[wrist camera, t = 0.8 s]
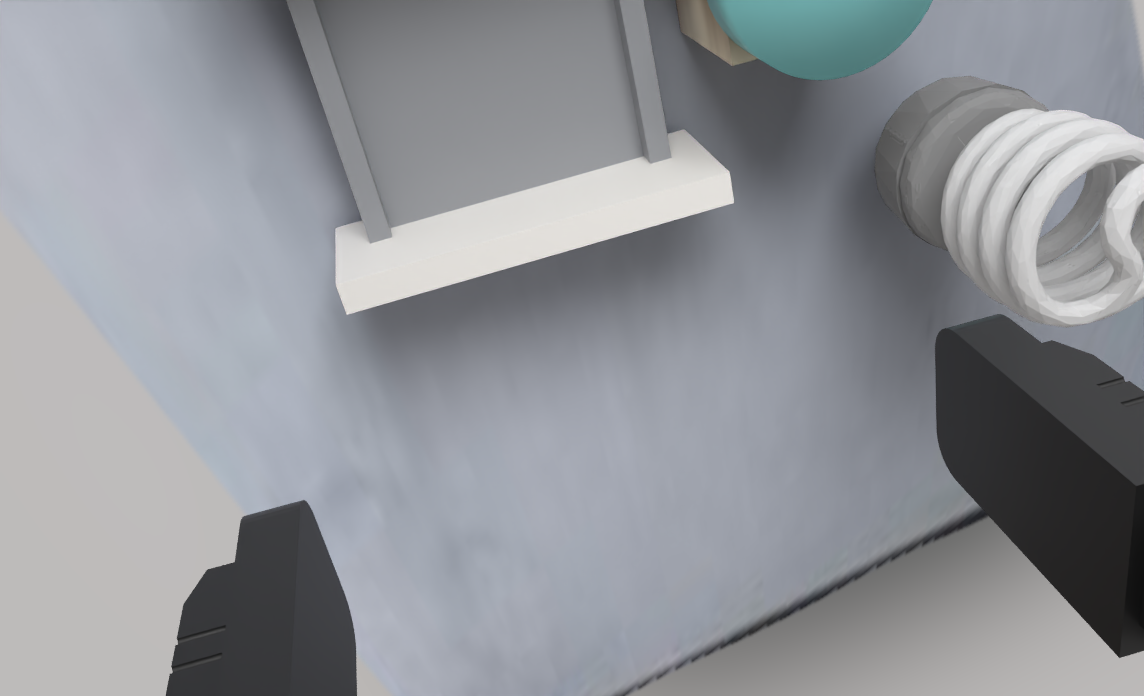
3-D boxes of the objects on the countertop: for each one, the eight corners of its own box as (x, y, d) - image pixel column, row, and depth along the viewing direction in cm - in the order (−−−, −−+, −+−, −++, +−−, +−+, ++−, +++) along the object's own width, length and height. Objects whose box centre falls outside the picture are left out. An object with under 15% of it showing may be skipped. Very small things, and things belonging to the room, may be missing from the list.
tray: (186, -185, 28) (161, -182, 24) (612, -293, 29) (658, -307, 25) (345, 254, 35) (346, 314, 31) (689, 157, 35) (734, 202, 31)
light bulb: (937, 221, 39) (1159, 375, 28) (807, 186, 37) (993, 338, 27) (1007, 73, 37) (1275, 183, 26) (872, 29, 35) (1102, 128, 25)
